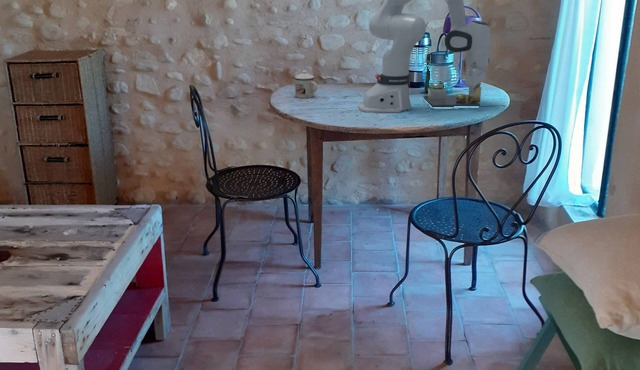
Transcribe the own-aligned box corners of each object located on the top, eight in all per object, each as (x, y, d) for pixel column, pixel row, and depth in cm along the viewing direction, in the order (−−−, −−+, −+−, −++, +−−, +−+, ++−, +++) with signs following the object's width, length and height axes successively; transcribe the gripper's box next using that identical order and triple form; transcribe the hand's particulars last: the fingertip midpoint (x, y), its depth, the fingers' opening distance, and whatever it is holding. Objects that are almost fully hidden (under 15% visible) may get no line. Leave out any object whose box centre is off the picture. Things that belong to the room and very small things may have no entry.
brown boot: (453, 99, 279) (454, 85, 277) (459, 97, 283) (460, 83, 280) (476, 103, 272) (477, 89, 270) (482, 101, 276) (483, 87, 274)
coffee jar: (434, 95, 300) (436, 54, 293) (421, 92, 305) (423, 52, 299) (448, 92, 305) (450, 51, 299) (435, 89, 311) (437, 50, 305)
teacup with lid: (290, 96, 300) (290, 71, 296) (304, 93, 306) (304, 68, 302) (309, 100, 292) (309, 74, 288) (323, 96, 298) (323, 71, 294)
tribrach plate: (432, 109, 273) (433, 90, 270) (423, 100, 290) (424, 82, 287) (480, 108, 274) (481, 89, 271) (468, 99, 291) (469, 81, 288)
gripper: (478, 65, 261) (475, 99, 266) (490, 58, 278) (487, 90, 283) (462, 64, 264) (460, 98, 268) (475, 56, 281) (473, 88, 286)
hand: (474, 94), depth 276 cm, fingers open, 7 cm apart
